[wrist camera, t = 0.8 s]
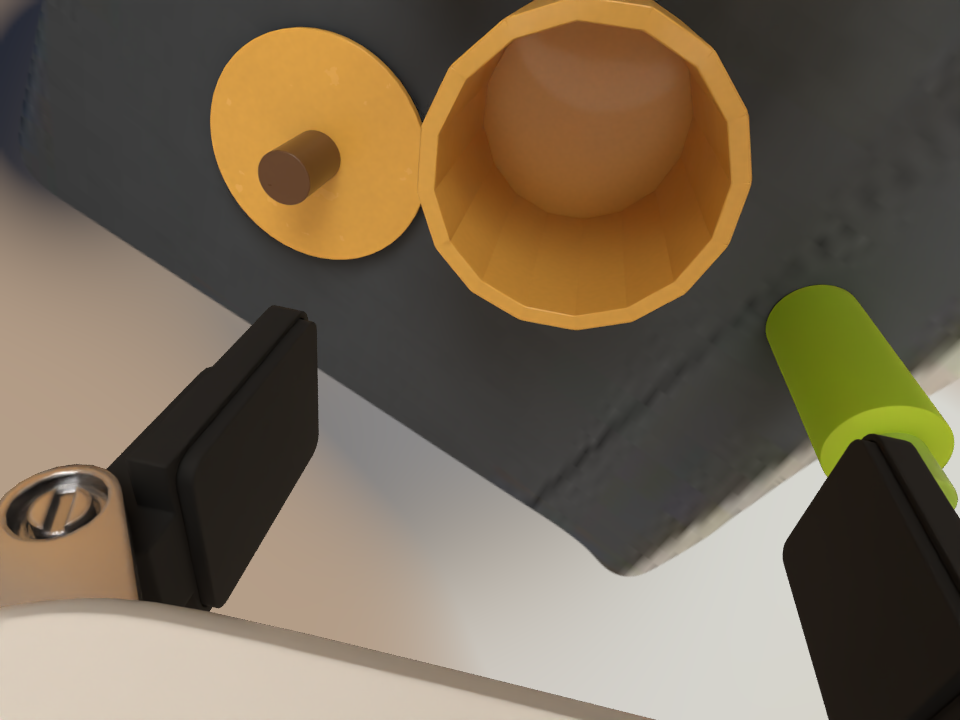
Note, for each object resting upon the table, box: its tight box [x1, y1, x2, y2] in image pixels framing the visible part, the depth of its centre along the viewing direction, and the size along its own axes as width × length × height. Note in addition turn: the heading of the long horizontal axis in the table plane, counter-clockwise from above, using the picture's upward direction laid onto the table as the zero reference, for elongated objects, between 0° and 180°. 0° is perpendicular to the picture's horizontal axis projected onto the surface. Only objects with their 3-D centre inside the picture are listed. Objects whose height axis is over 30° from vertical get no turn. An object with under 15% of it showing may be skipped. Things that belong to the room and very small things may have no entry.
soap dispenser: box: [766, 285, 958, 509], centre depth 33 cm, size 6×7×20 cm
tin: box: [417, 0, 752, 330], centre depth 31 cm, size 14×14×14 cm
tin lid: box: [210, 27, 422, 260], centre depth 38 cm, size 15×15×6 cm
